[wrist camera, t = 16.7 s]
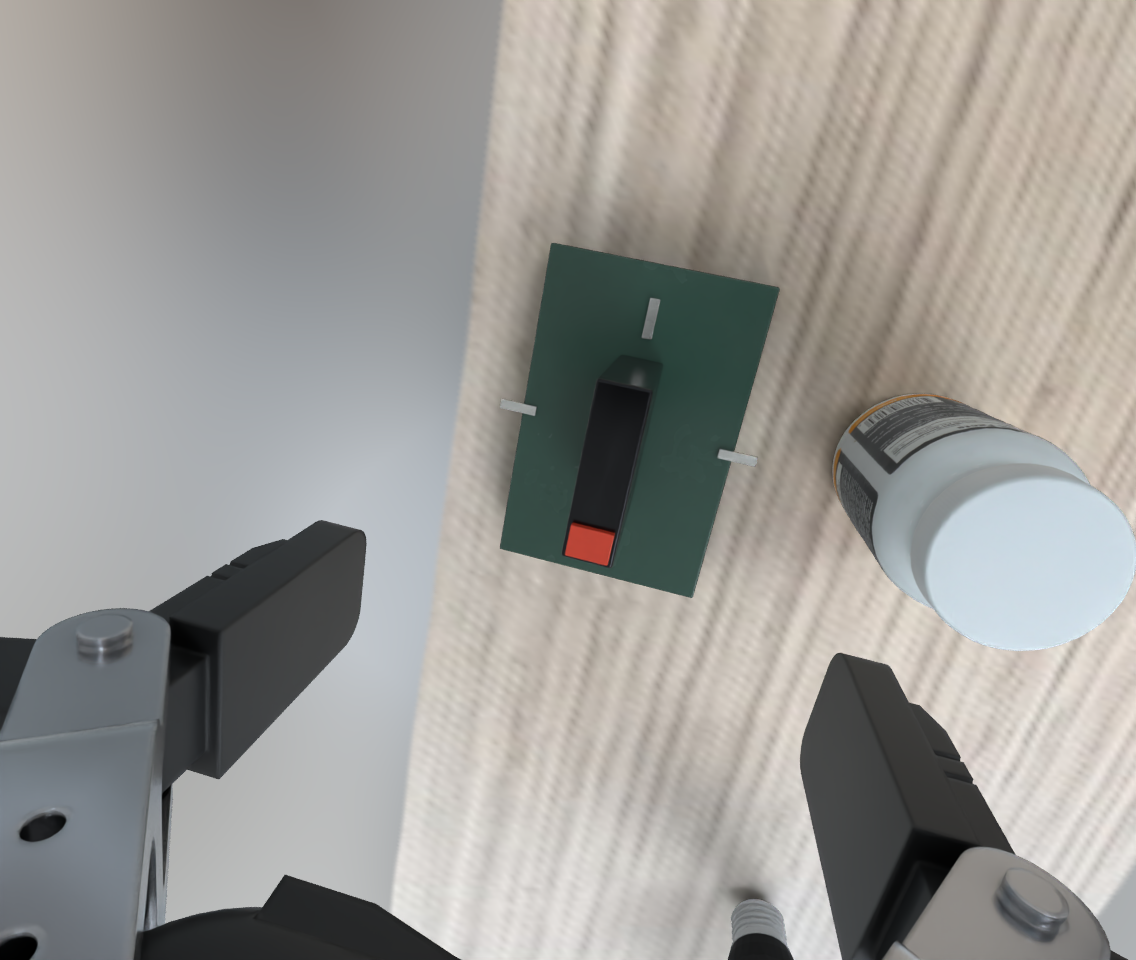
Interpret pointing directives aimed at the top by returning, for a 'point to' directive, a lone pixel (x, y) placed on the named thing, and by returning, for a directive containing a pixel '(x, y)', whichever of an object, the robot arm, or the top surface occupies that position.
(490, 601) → the top surface
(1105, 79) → the top surface
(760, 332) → the base plate
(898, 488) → the pill bottle
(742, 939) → the light bulb
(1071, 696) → the top surface
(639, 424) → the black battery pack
